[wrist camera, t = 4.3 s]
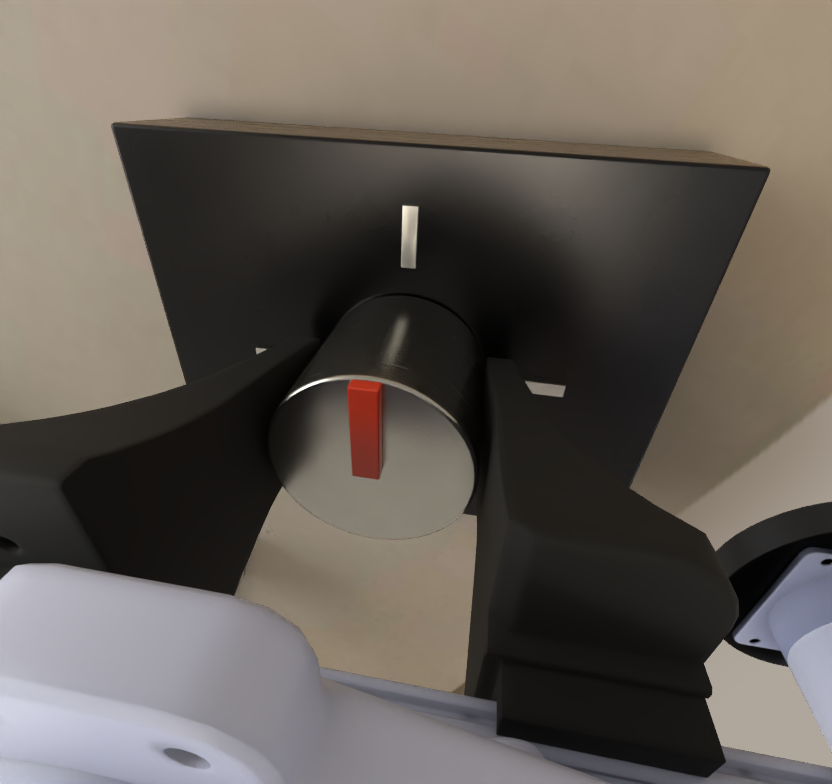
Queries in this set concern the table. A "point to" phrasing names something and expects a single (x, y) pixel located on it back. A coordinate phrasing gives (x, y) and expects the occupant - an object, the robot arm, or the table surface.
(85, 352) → the table surface
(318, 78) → the table surface
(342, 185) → the panel
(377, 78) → the table surface
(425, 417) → the hob knob
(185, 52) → the table surface
